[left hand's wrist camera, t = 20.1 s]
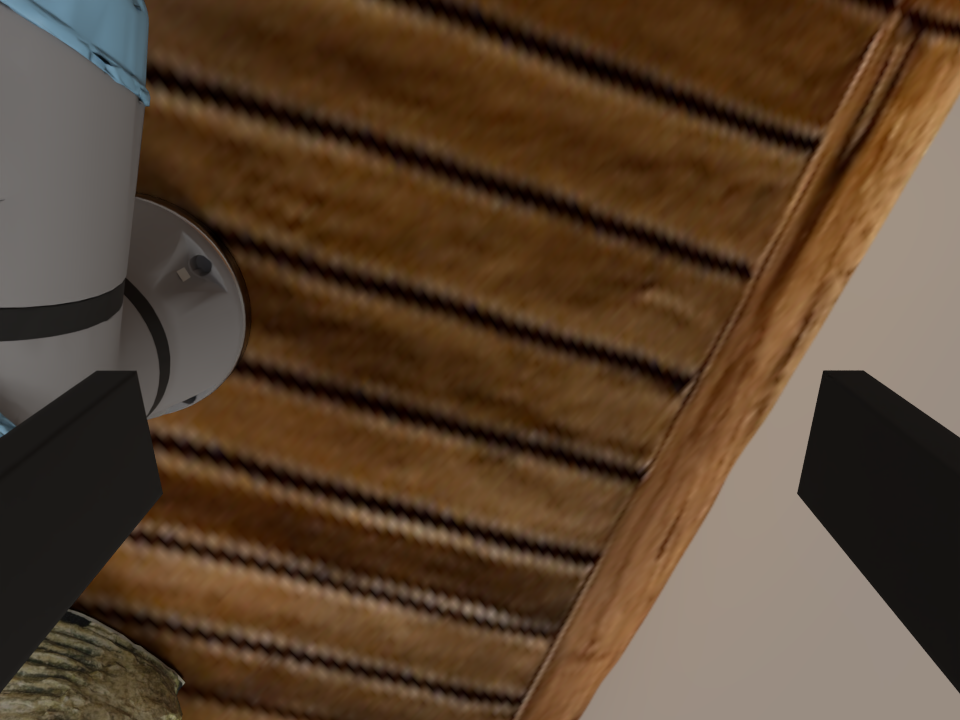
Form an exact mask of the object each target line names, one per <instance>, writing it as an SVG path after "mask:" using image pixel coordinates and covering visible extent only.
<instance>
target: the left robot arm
mask: <svg viewBox="0 0 960 720" xmlns="http://www.w3.org/2000/svg"><path fill="white" fill-rule="evenodd" d="M148 27H149V19H148V12H147V8H146V5H145V2H144V0H0V693H1V692H2V691H3V689H4V688H5V687H6V686H7V684H8V683H9V682H10V681H11V679H12V678H13V677H14V676H15V675H16V673H17V672H18V671H19V670H20V668H21V667H22V666H23V665H24V664H25V662H26V661H27V660H28V659H29V657H30V656H31V655H32V654H33V652H34V651H35V650H36V649H37V648H38V646H39V645H40V644H41V643H42V641H43V640H44V639H45V638H46V636H47V635H48V634H49V633H50V632H51V630H52V629H53V628H54V627H55V625H56V624H57V623H58V622H59V621H60V619H61V618H62V617H63V616H64V614H65V613H66V612H67V611H68V609H69V608H70V607H71V606H72V605H73V603H74V602H75V601H76V600H77V598H78V597H79V596H80V595H81V593H82V592H83V591H84V590H85V589H86V587H87V586H88V585H89V584H90V582H91V581H92V580H93V579H94V578H95V576H96V575H97V574H98V573H99V571H100V570H101V569H102V568H103V566H104V565H105V564H106V563H107V562H108V560H109V559H110V558H111V557H112V555H113V554H114V553H115V552H116V550H117V549H118V548H119V547H120V546H121V544H122V543H123V542H124V541H125V539H126V538H127V537H128V536H129V535H130V533H131V532H132V531H133V530H134V528H135V527H136V526H137V525H138V523H139V522H140V521H141V520H142V519H143V517H144V516H145V515H146V514H147V512H148V511H149V510H150V509H151V508H152V506H153V505H154V504H155V503H156V501H157V500H158V499H159V498H160V496H161V495H162V494H163V492H162V488H161V483H160V478H159V473H158V469H157V464H156V459H155V455H154V450H153V445H152V440H151V436H150V431H149V426H148V422H147V420H148V419H151V418H155V417H158V416H161V415H163V414H168V413H172V412H175V411H178V410H181V409H184V408H187V407H189V406H191V405H193V404H195V403H197V402H198V401H200V400H202V399H204V398H205V397H207V396H208V395H210V394H211V393H212V392H214V391H215V390H216V389H217V388H218V387H219V386H220V385H221V384H222V383H223V382H224V381H225V380H226V379H227V378H228V377H229V376H230V374H231V373H232V372H233V371H234V369H235V368H236V367H237V365H238V364H239V362H240V360H241V359H242V356H243V354H244V352H245V350H246V346H247V343H248V340H249V335H250V328H251V307H250V300H249V295H248V291H247V288H246V284H245V281H244V279H243V276H242V274H241V272H240V269H239V268H238V266H237V264H236V262H235V260H234V258H233V257H232V255H231V254H230V252H229V251H228V249H227V248H226V247H225V246H224V244H223V243H222V242H221V241H220V239H219V238H218V237H217V236H216V235H215V234H214V233H213V232H212V231H211V230H210V229H209V228H208V227H206V226H205V225H204V224H203V223H202V222H201V221H199V220H198V219H197V218H195V217H194V216H193V215H191V214H189V213H188V212H186V211H185V210H183V209H181V208H179V207H177V206H175V205H174V204H172V203H169V202H167V201H164V200H162V199H159V198H156V197H153V196H150V195H146V194H141V193H136V185H137V175H138V166H139V157H140V148H141V139H142V130H143V121H144V111H145V106H149V105H150V94H149V91H148V90H147V89H146V87H145V86H146V66H147V47H148ZM797 494H798V495H799V496H800V498H801V499H802V500H803V501H804V503H805V504H806V505H807V506H808V508H809V509H810V510H811V511H812V512H813V514H814V515H815V516H816V517H817V519H818V520H819V521H820V522H821V523H822V525H823V526H824V527H825V528H826V530H827V531H828V532H829V533H830V535H831V536H832V537H833V538H834V539H835V541H836V542H837V543H838V544H839V546H840V547H841V548H842V549H843V550H844V552H845V553H846V554H847V555H848V557H849V558H850V559H851V560H852V562H853V563H854V564H855V565H856V566H857V568H858V569H859V570H860V571H861V573H862V574H863V575H864V576H865V577H866V579H867V580H868V581H869V582H870V584H871V585H872V586H873V587H874V589H875V590H876V591H877V592H878V593H879V595H880V596H881V597H882V598H883V600H884V601H885V602H886V603H887V605H888V606H889V607H890V608H891V609H892V611H893V612H894V613H895V614H896V616H897V617H898V618H899V619H900V621H901V622H902V623H903V624H904V625H905V627H906V628H907V629H908V630H909V632H910V633H911V634H912V635H913V636H914V638H915V639H916V640H917V641H918V643H919V644H920V645H921V646H922V648H923V649H924V650H925V651H926V652H927V654H928V655H929V656H930V657H931V659H932V660H933V661H934V662H935V664H936V665H937V666H938V667H939V668H940V670H941V671H942V672H943V673H944V675H945V676H946V677H947V678H948V679H949V681H950V682H951V683H952V684H953V686H954V687H955V688H956V689H957V691H958V692H959V693H960V437H958V436H957V435H955V434H954V433H952V432H951V431H950V430H948V429H947V428H945V427H944V426H942V425H941V424H940V423H938V422H937V421H935V420H934V419H932V418H931V417H929V416H928V415H927V414H925V413H924V412H922V411H921V410H919V409H918V408H916V407H915V406H914V405H912V404H911V403H909V402H908V401H906V400H905V399H904V398H902V397H901V396H899V395H898V394H896V393H895V392H893V391H892V390H891V389H889V388H888V387H886V386H885V385H883V384H882V383H881V382H879V381H878V380H876V379H875V378H873V377H872V376H870V375H869V374H867V373H866V372H865V371H823V374H822V379H821V384H820V388H819V393H818V398H817V403H816V407H815V412H814V417H813V422H812V426H811V431H810V436H809V441H808V445H807V450H806V455H805V459H804V464H803V469H802V473H801V478H800V483H799V488H798V492H797Z"/></svg>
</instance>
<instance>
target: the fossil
mask: <svg viewBox="0 0 960 720" xmlns="http://www.w3.org/2000/svg"><path fill="white" fill-rule="evenodd" d="M184 684H185V682H184V681H183V680H182V678H181V677H180V676H179V675H178V674H177V673H176V672H175V671H174V670H172V669H171V668H169V667H167V666H166V665H165V664H164V663H163V662H161V661H160V660H159V659H158V658H156V657H155V656H153V655H152V654H150V653H149V652H147V651H146V650H145V649H144V648H142V647H141V646H139V645H136V644H134V643H132V642H131V641H130V640H129V639H127V638H126V637H125V636H124V635H122V634H120V633H119V632H117V631H115V630H113V629H111V628H110V627H108V626H106V625H104V624H102V623H100V622H99V621H97V620H95V619H93V618H90V617H88V616H86V615H84V614H82V613H79V612H76V611H73V610H69V609H68V611H67V612H66V613H65V614H64V616H63V617H62V618H61V619H60V621H59V622H58V623H57V624H56V625H55V627H54V628H53V629H52V630H51V632H50V633H49V634H48V635H47V636H46V638H45V639H44V640H43V641H42V643H41V644H40V645H39V646H38V648H37V649H36V650H35V651H34V652H33V654H32V655H31V656H30V657H29V659H28V660H27V661H26V662H25V664H24V665H23V666H22V667H21V668H20V670H19V671H18V672H17V673H16V675H15V676H14V677H13V678H12V679H11V681H10V682H9V683H8V684H7V686H6V687H5V688H4V689H3V691H2V692H1V693H0V720H182V711H181V708H180V704H179V701H178V698H177V693H178V691H179V689H180V688H181V687H182V686H183V685H184Z"/></svg>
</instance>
